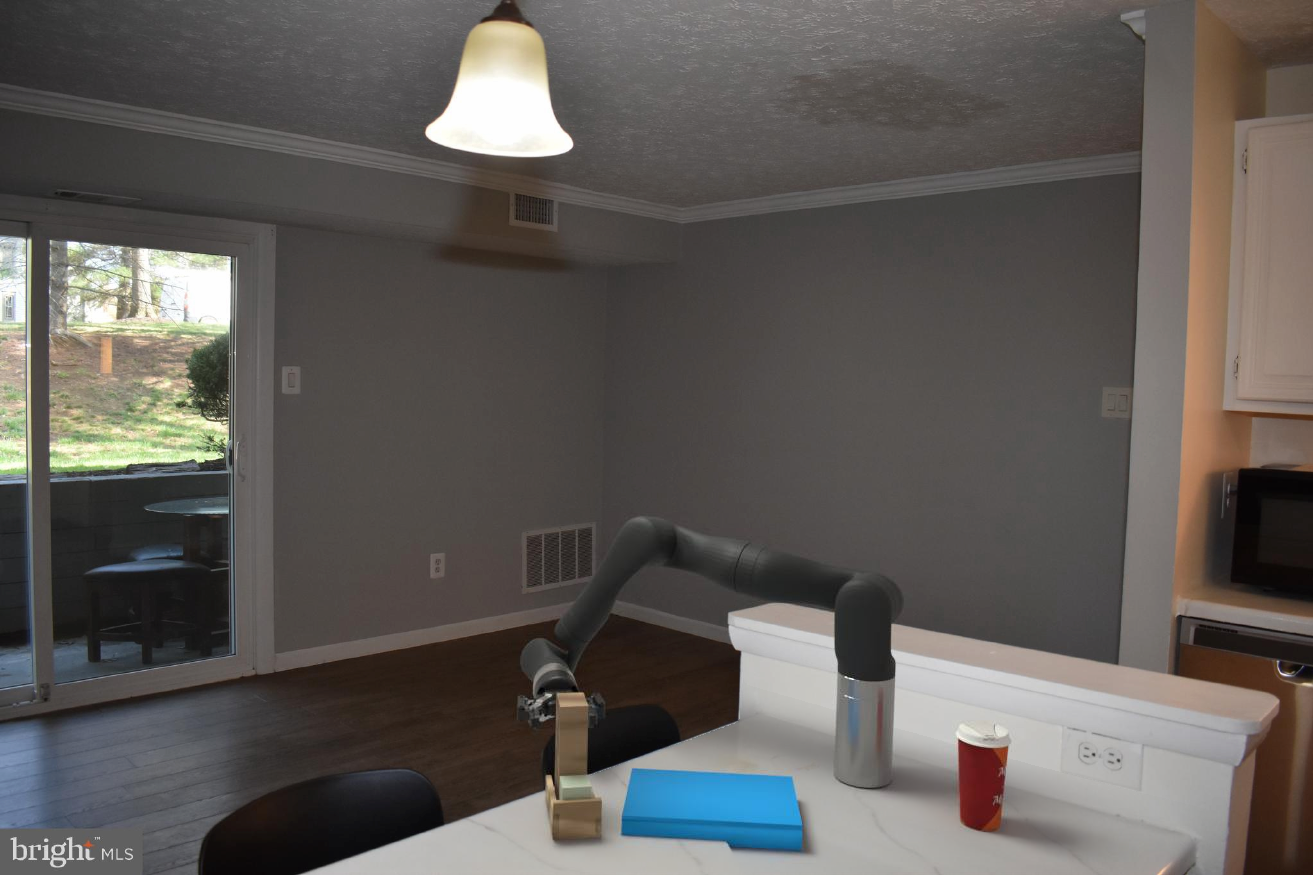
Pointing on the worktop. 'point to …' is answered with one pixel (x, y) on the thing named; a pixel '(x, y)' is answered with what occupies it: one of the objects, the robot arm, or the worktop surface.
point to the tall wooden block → (570, 736)
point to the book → (714, 808)
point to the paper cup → (981, 773)
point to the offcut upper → (574, 787)
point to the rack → (573, 815)
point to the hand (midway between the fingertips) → (564, 722)
